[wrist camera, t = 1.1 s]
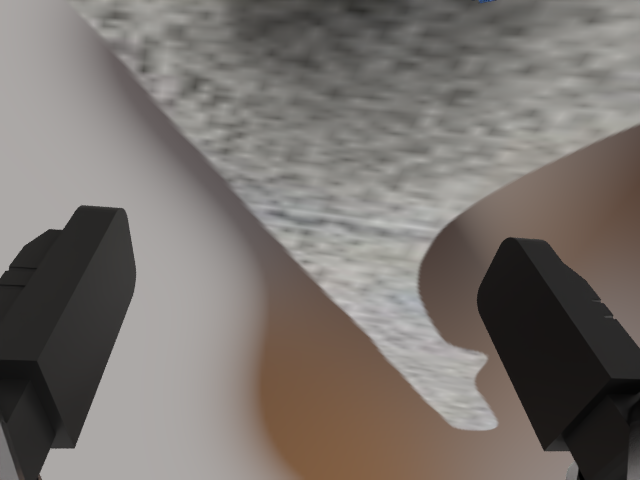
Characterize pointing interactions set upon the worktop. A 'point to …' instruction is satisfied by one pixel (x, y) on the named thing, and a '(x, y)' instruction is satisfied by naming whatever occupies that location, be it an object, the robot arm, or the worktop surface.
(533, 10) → the worktop surface
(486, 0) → the grapes
